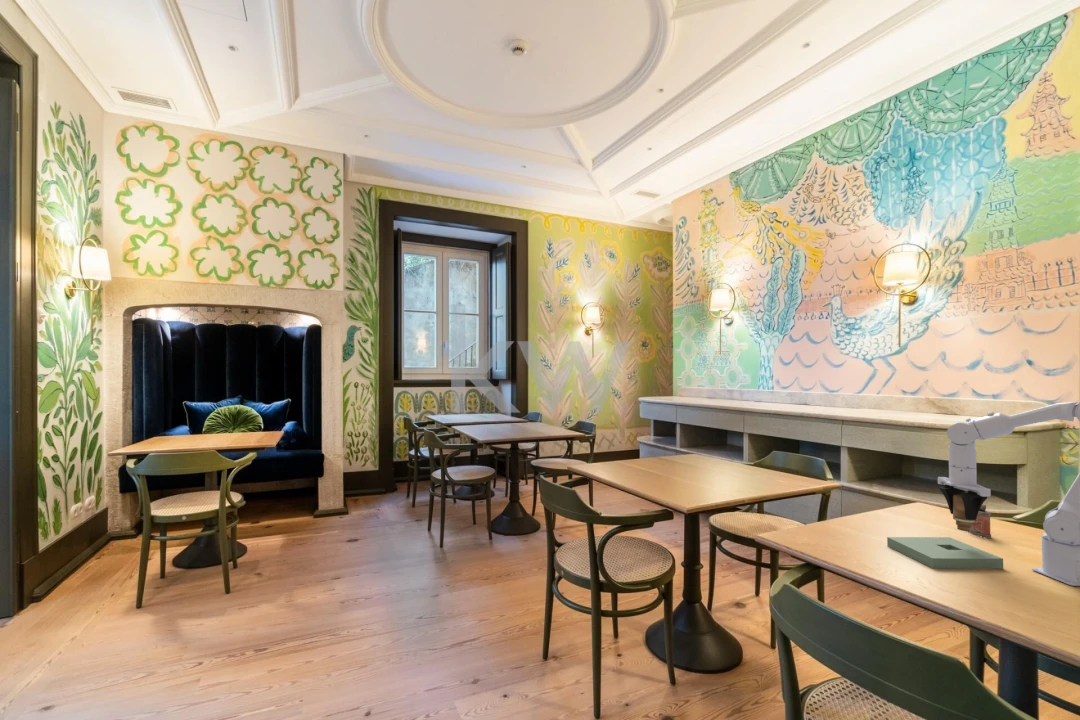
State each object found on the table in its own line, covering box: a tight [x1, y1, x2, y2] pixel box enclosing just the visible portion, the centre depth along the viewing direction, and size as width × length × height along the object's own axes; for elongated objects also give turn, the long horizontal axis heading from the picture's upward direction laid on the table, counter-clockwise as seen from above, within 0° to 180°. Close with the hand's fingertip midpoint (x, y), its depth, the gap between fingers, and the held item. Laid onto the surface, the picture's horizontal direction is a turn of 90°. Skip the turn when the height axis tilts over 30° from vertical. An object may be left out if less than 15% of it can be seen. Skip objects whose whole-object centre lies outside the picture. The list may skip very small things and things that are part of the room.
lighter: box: [967, 503, 992, 539], centre depth 151 cm, size 8×3×10 cm, turn 179°
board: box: [886, 536, 1004, 570], centre depth 131 cm, size 16×18×2 cm
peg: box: [952, 495, 975, 532], centre depth 133 cm, size 4×4×9 cm
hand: (963, 516), depth 132 cm, fingers closed on peg, 4 cm apart
